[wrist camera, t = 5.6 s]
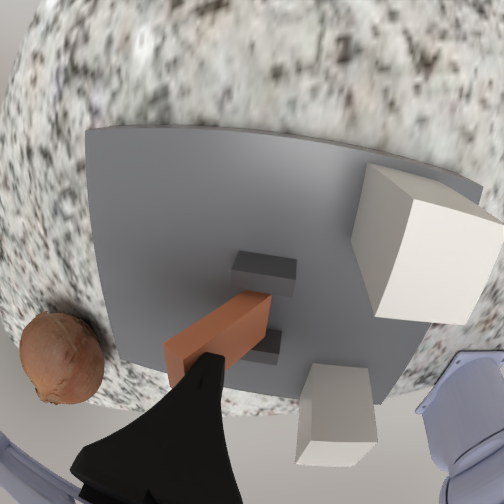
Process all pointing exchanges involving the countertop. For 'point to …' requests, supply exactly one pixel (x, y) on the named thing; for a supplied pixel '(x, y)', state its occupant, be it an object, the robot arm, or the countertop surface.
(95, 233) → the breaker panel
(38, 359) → the onion
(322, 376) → the far plug
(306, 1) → the countertop surface
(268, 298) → the bar
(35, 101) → the countertop surface
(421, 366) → the countertop surface
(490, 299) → the countertop surface
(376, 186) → the near plug
